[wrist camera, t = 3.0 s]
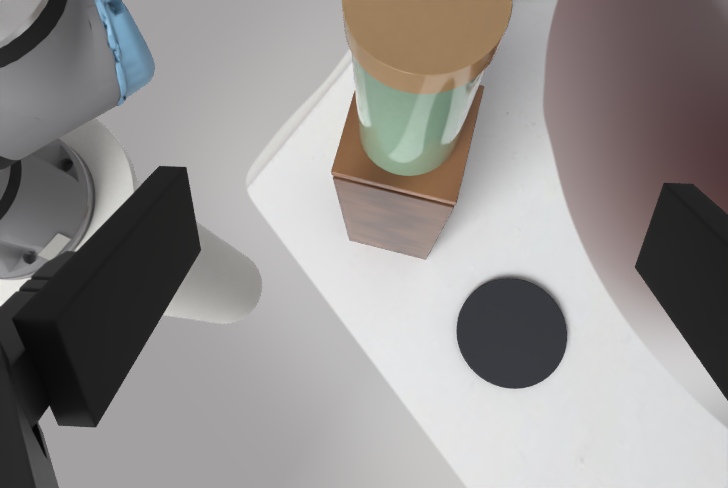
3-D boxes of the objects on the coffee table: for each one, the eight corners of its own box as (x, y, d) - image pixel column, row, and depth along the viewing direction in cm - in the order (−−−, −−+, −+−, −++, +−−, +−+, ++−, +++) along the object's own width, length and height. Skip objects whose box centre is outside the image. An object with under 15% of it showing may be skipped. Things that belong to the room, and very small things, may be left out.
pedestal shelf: (349, 240, 51) (330, 172, 31) (369, 167, 52) (363, 58, 32) (425, 259, 50) (456, 202, 30) (443, 185, 51) (484, 85, 32)
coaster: (445, 371, 48) (446, 372, 47) (469, 267, 50) (470, 266, 49) (554, 401, 47) (555, 401, 47) (574, 293, 49) (576, 293, 49)
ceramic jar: (343, 165, 31) (322, 53, 19) (370, 69, 32) (366, -91, 20) (448, 190, 31) (492, 92, 19) (472, 92, 32) (528, -58, 20)
